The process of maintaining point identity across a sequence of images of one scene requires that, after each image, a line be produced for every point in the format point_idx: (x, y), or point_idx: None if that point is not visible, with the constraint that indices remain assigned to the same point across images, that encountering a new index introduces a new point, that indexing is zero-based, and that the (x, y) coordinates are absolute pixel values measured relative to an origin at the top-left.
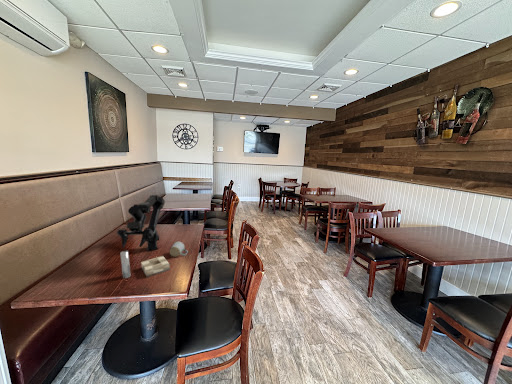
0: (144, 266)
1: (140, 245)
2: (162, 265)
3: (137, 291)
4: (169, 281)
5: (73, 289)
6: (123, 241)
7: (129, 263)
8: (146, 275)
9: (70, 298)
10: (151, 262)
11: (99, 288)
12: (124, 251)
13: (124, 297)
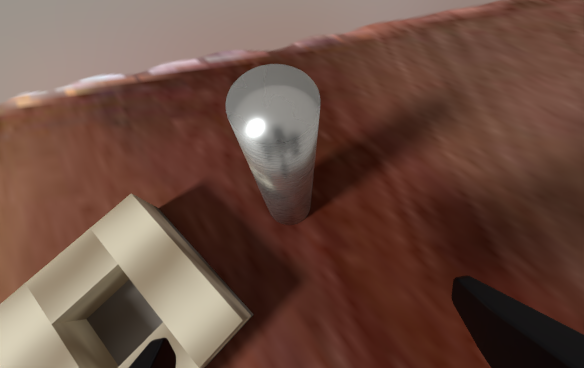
0: (171, 246)
1: (141, 353)
2: (28, 280)
3: (150, 98)
4: (11, 188)
5: (466, 72)
6: (573, 355)
7: (258, 185)
8: (156, 208)
9: (408, 29)
10: (152, 336)
11: (349, 93)
12: (284, 116)
13: (186, 60)
